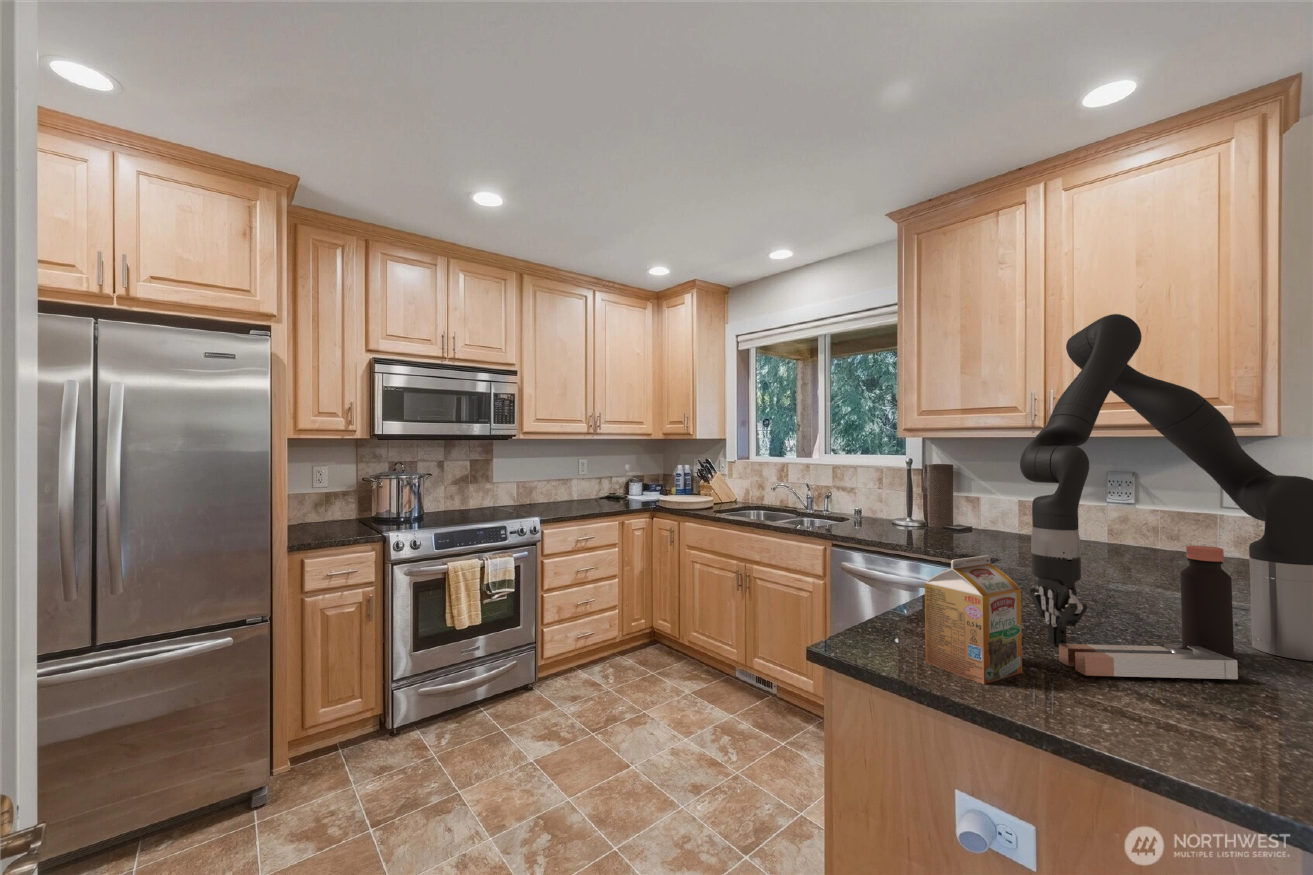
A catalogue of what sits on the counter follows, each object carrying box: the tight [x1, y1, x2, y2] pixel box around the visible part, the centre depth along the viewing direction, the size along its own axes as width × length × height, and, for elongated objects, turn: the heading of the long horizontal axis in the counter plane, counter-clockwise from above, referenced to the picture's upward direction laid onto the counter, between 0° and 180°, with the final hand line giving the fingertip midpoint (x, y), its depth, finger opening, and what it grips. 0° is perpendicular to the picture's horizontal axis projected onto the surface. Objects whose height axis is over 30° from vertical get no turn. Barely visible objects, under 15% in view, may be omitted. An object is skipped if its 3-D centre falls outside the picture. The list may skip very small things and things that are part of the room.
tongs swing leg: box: [1058, 643, 1193, 667], centre depth 96 cm, size 21×4×3 cm, turn 86°
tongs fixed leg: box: [1074, 646, 1239, 680], centre depth 94 cm, size 24×7×3 cm, turn 87°
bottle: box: [1179, 544, 1235, 659], centre depth 102 cm, size 7×7×20 cm
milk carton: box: [924, 555, 1023, 685], centre depth 97 cm, size 11×11×19 cm
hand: (1057, 646), depth 103 cm, fingers closed
